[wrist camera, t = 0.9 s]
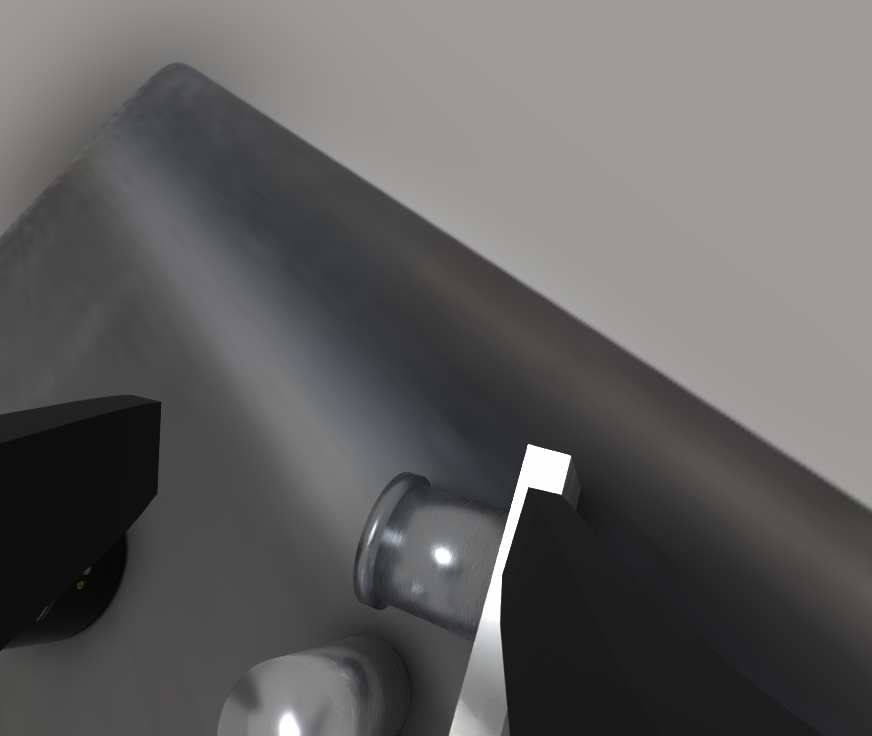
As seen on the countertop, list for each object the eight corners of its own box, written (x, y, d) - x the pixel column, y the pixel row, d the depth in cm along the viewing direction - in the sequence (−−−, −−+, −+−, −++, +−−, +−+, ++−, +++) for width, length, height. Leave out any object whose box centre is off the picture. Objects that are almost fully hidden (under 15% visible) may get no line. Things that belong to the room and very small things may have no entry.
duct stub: (581, 489, 20) (570, 455, 14) (529, 705, 18) (489, 780, 12) (440, 449, 23) (377, 404, 16) (380, 637, 21) (281, 670, 14)
